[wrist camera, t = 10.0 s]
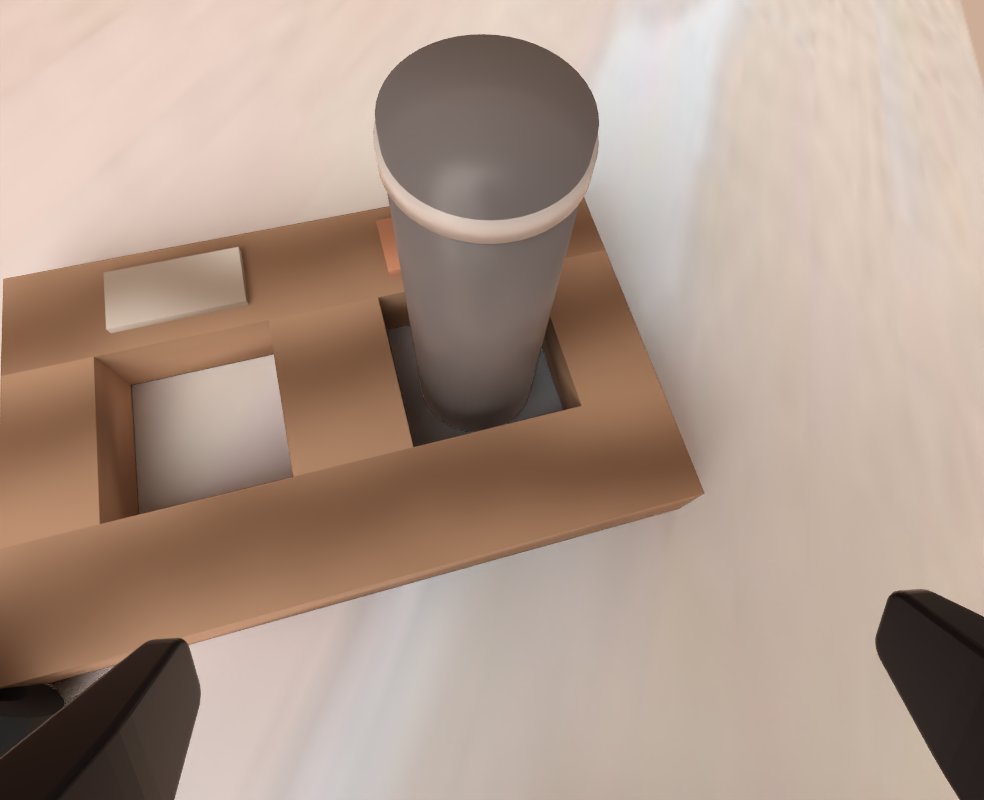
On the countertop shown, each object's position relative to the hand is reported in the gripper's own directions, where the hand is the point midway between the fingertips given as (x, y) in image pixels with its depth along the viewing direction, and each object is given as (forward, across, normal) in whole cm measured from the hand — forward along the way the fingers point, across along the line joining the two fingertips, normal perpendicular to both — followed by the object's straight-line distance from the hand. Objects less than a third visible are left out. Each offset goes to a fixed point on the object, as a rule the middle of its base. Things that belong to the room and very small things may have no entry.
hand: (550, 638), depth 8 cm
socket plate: (+16, +5, +4) cm, 17 cm away
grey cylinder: (+16, 0, +3) cm, 17 cm away
